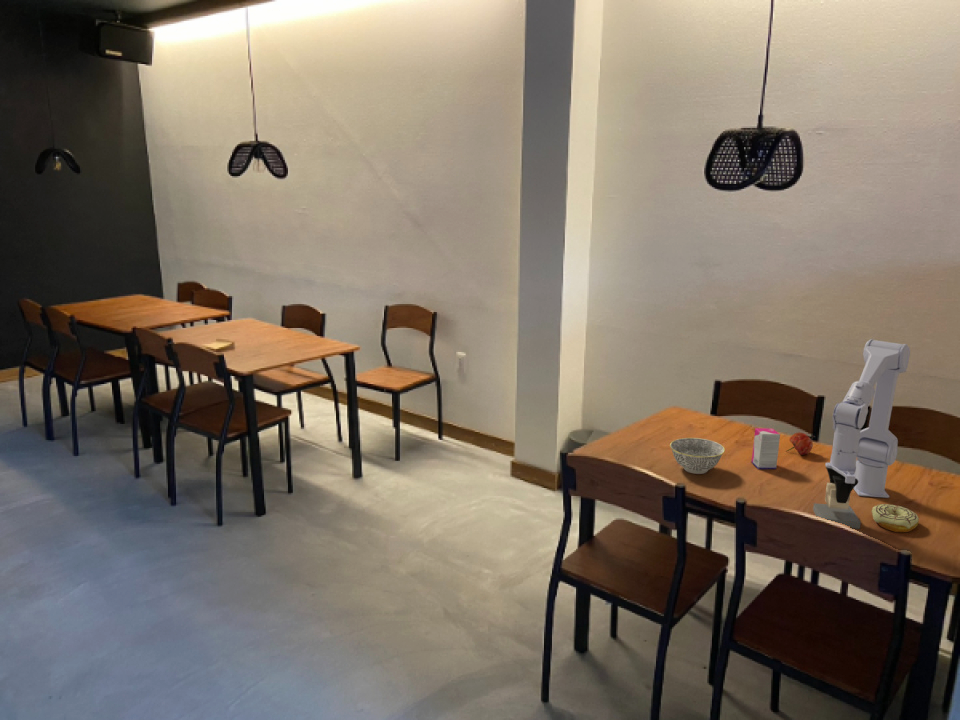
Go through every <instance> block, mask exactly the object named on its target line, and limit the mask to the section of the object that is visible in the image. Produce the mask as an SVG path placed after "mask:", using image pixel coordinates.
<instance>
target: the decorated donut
mask: <svg viewBox="0 0 960 720" xmlns="http://www.w3.org/2000/svg"><path fill="white" fill-rule="evenodd" d="M871 509H872V510H871V515H872V519H873V520H874V522H875V523H876V524H878V525H879V526H880V527H881V528H883V529H886V530H888V531H890V532H891V531H892V532H894V533H909V532H912V531H913V530H914V529H916V528H917V526H918V525H919V519H920V518H919V516H918V515H917V513H915V512H914V511H912V510H911V509H910V508H907V507H904V506H900V505H894V504H887V503H881V504H877V505H874V506H873V507H872V508H871Z"/></svg>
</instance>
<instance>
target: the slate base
mask: <svg viewBox="0 0 960 720" xmlns="http://www.w3.org/2000/svg"><path fill="white" fill-rule="evenodd" d="M812 511H813V513H814V514H815V516H816V517H817V516H819V517H821V518H825V519H827V520H831V521H835V522H838V523H842V524H845V525H847V526H850V527H852V528H851V529H854V528H855V529H857V530H860V529H861V522H862V521H861V520H860V519H859V517H858V516H857V514H856V512H855V511H854V509H853V508H852V507H851V505H849V508H848V509H838V508H829V506H828V505H827V503H815V502H814V503H813V507H812Z"/></svg>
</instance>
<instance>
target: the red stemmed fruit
mask: <svg viewBox="0 0 960 720" xmlns="http://www.w3.org/2000/svg"><path fill="white" fill-rule="evenodd" d="M813 438H816V436H815V435H808V434H806V433H804V432H800V431H798V432H795V433H793V434H792V435H791V436H790V438H789V442H790V443H791V444H792V445H793V447H791V448H789V449H787V450H785V452H789V451H792V450H793V449H794V450H796V451H797V452H798V454H799V455H801V456H804V455H808V454H809V453H810V452H812V449H813V448H814V447H813V446H814V443H813V441H812V439H813Z"/></svg>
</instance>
